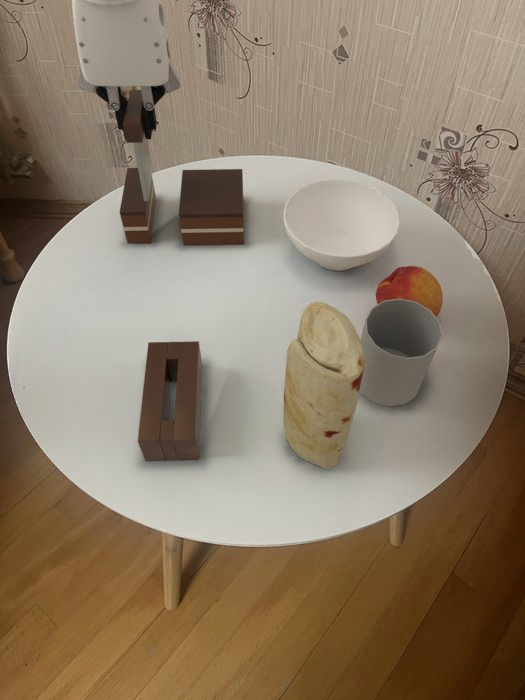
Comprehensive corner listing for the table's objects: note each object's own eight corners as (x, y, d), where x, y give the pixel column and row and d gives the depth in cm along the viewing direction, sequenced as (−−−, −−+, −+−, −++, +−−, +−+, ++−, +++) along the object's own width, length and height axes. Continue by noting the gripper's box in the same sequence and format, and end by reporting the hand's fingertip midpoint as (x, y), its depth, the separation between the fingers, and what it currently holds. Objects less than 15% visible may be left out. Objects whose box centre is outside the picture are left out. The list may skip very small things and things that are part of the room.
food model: (355, 465, 63) (389, 364, 47) (300, 483, 62) (315, 386, 46) (322, 395, 69) (342, 282, 53) (270, 410, 67) (274, 300, 51)
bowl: (259, 254, 83) (259, 217, 77) (326, 202, 90) (331, 164, 84) (346, 311, 77) (353, 275, 71) (411, 250, 84) (423, 212, 78)
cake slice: (127, 243, 84) (119, 212, 79) (134, 199, 90) (127, 167, 85) (151, 243, 84) (144, 211, 79) (156, 199, 90) (150, 167, 85)
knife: (138, 203, 78) (122, 124, 69) (144, 168, 83) (129, 89, 73) (153, 203, 78) (139, 124, 69) (157, 168, 83) (145, 89, 73)
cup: (424, 358, 72) (445, 308, 64) (417, 413, 67) (438, 366, 59) (359, 344, 73) (371, 292, 65) (347, 396, 69) (359, 348, 61)
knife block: (145, 461, 64) (137, 441, 59) (154, 365, 71) (148, 342, 67) (198, 460, 64) (194, 439, 60) (202, 364, 71) (198, 341, 67)
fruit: (399, 283, 80) (412, 241, 73) (446, 316, 76) (464, 275, 70) (362, 312, 76) (372, 271, 70) (409, 348, 73) (424, 308, 66)
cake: (183, 245, 84) (178, 214, 79) (186, 201, 90) (182, 169, 85) (244, 244, 84) (243, 213, 79) (243, 200, 90) (242, 168, 85)
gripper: (188, -39, 62) (201, 117, 76) (41, -40, 61) (82, 117, 76) (185, -10, 57) (199, 150, 72) (26, -10, 57) (72, 151, 72)
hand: (138, 132), depth 74 cm, fingers closed on knife, 2 cm apart
